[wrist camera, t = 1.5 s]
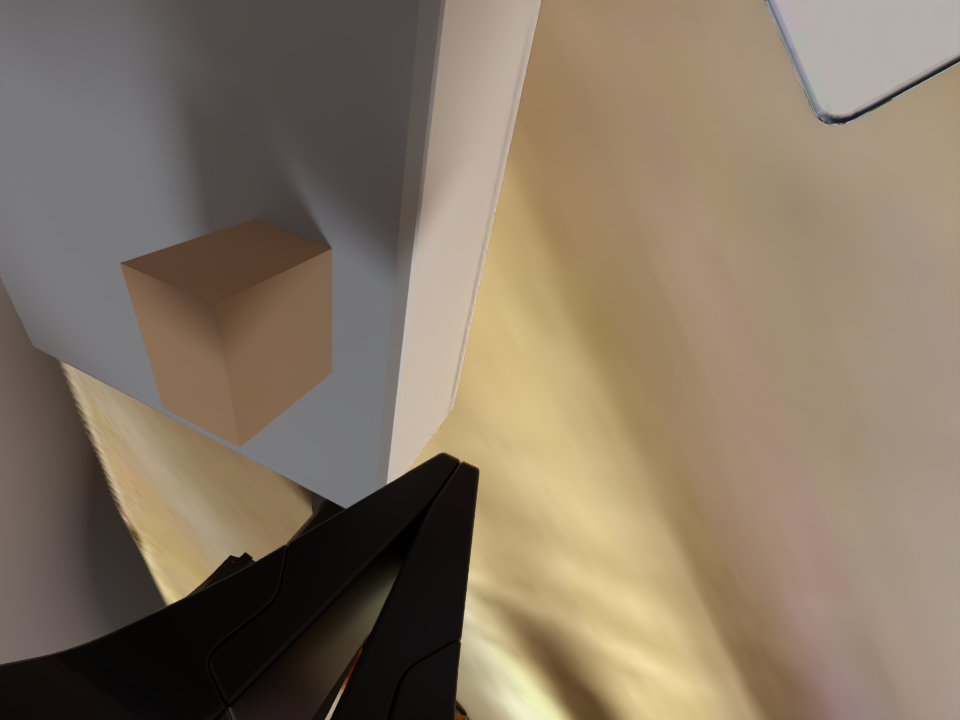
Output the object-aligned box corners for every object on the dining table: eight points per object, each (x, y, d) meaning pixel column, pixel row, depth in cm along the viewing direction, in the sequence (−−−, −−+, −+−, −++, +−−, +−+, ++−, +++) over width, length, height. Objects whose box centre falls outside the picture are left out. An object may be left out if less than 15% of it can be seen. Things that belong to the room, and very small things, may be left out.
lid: (384, 506, 18) (309, 608, 14) (52, 338, 21) (-68, 387, 18) (449, -78, 8) (259, -191, 4) (-186, -204, 12) (-552, -318, 8)
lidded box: (453, 407, 22) (387, 496, 18) (171, 282, 26) (54, 329, 21) (542, -3, 13) (451, -45, 8) (80, -107, 17) (-164, -177, 12)
